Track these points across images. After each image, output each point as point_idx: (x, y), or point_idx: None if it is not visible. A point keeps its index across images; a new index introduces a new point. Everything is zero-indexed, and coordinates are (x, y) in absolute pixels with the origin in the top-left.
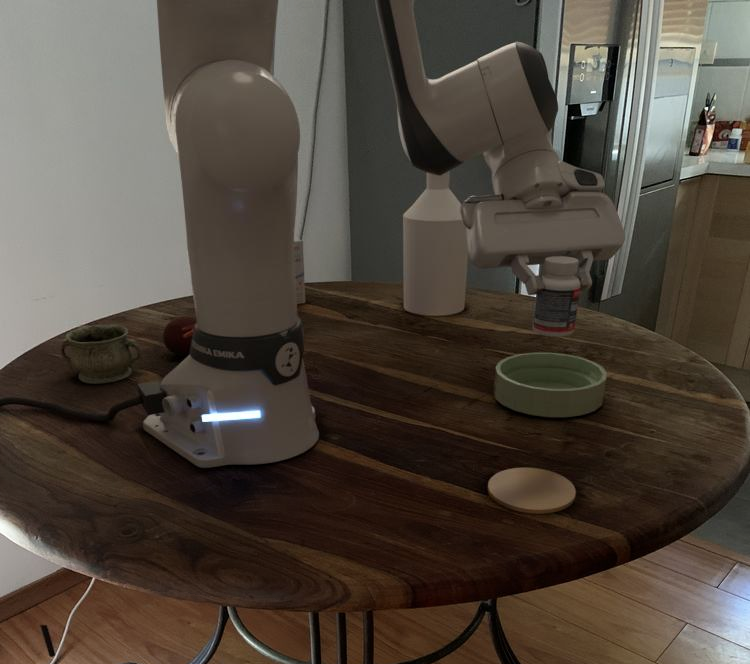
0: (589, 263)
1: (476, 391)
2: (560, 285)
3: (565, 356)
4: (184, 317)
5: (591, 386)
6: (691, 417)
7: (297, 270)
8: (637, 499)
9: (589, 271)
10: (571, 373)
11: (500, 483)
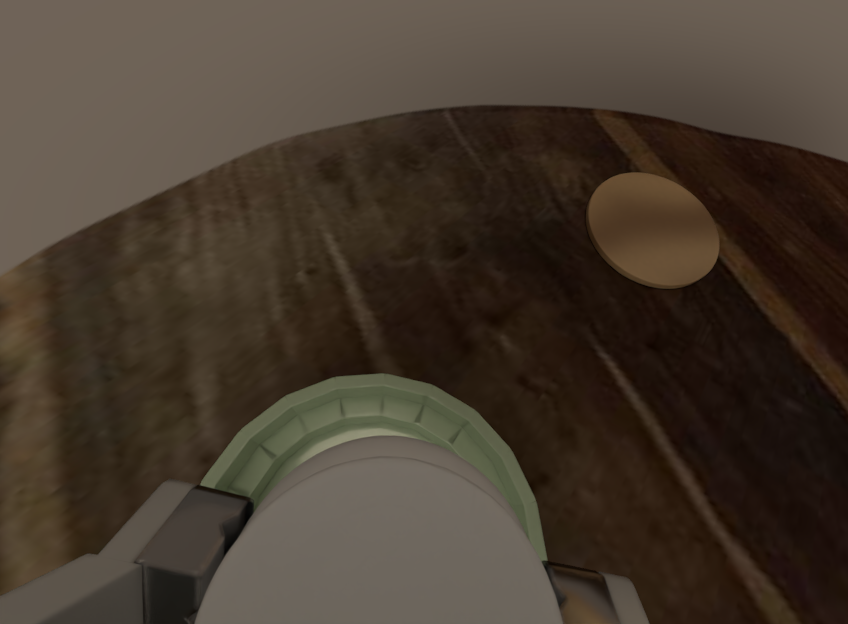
0: (2, 616)
1: None
2: (473, 472)
3: None
4: None
5: (363, 375)
6: (174, 275)
7: None
8: (519, 147)
9: (88, 558)
10: None
11: (694, 256)
